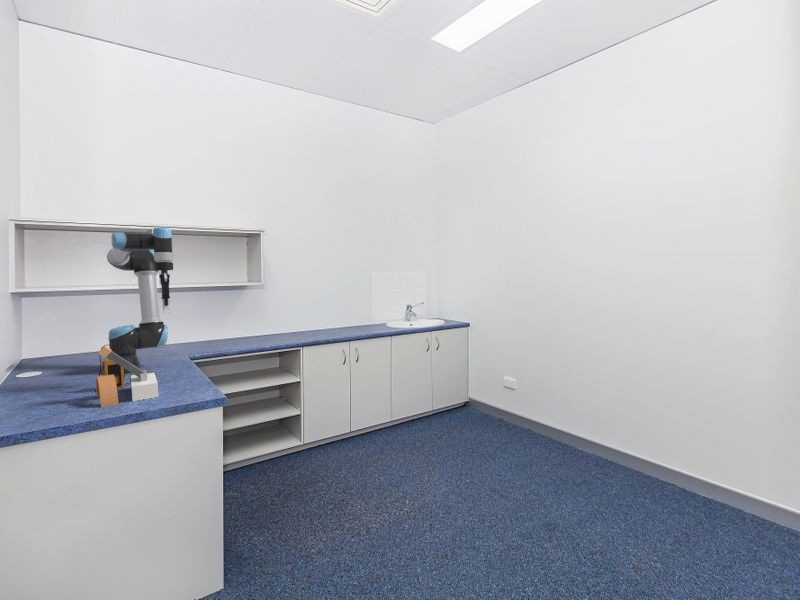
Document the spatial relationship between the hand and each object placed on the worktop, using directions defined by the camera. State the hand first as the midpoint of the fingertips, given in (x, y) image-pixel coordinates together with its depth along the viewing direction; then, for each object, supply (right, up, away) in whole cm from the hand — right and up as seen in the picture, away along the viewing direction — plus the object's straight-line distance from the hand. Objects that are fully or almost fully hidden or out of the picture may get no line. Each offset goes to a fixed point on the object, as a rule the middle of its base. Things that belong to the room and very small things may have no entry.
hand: (166, 312), depth 200 cm
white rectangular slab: (0, -34, -17) cm, 38 cm away
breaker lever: (0, -26, -18) cm, 32 cm away
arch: (-10, -35, -26) cm, 45 cm away
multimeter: (-21, -34, -7) cm, 40 cm away
